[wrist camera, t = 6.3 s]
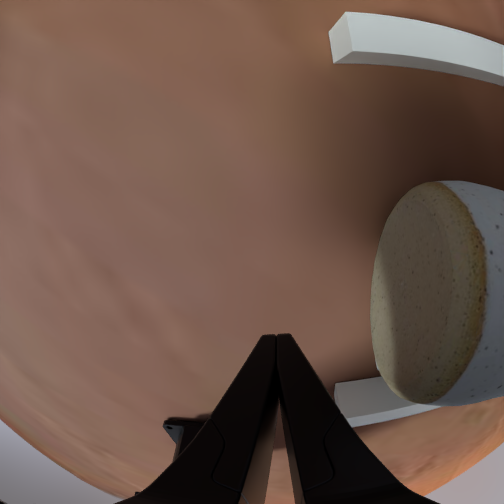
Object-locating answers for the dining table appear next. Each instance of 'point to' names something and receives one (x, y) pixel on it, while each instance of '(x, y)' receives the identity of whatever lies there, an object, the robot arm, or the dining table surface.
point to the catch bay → (413, 56)
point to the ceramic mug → (441, 295)
